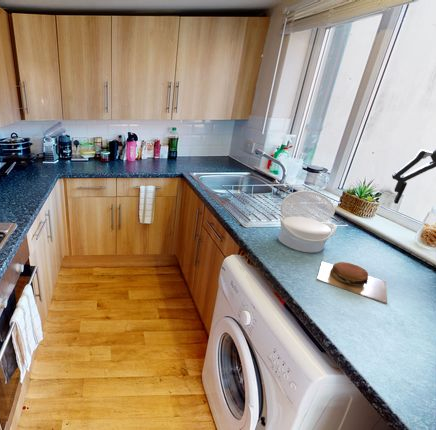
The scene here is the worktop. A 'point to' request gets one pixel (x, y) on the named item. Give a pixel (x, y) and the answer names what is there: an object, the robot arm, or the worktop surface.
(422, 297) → the worktop surface
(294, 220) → the plastic deli container
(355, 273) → the burger
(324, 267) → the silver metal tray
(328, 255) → the worktop surface
